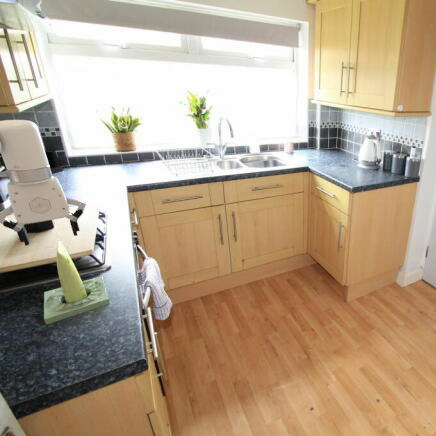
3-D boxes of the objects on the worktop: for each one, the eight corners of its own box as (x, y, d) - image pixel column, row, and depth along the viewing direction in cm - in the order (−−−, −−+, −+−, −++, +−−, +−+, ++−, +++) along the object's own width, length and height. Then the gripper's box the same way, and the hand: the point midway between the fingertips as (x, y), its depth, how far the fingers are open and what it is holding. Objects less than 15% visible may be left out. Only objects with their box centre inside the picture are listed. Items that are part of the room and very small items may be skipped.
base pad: (47, 328, 83) (43, 319, 81) (47, 300, 92) (44, 292, 91) (111, 307, 91) (108, 298, 89) (104, 283, 101) (102, 275, 99)
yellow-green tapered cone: (95, 299, 93) (75, 241, 85) (79, 311, 89) (57, 250, 81) (79, 296, 94) (58, 238, 86) (62, 307, 90) (39, 247, 82)
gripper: (-24, 184, 68) (5, 253, 75) (77, 173, 78) (94, 235, 85) (-19, 175, 73) (8, 241, 80) (75, 166, 83) (91, 225, 90)
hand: (52, 238), depth 82 cm, fingers open, 9 cm apart
